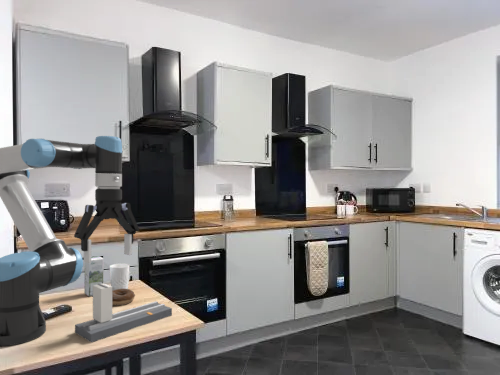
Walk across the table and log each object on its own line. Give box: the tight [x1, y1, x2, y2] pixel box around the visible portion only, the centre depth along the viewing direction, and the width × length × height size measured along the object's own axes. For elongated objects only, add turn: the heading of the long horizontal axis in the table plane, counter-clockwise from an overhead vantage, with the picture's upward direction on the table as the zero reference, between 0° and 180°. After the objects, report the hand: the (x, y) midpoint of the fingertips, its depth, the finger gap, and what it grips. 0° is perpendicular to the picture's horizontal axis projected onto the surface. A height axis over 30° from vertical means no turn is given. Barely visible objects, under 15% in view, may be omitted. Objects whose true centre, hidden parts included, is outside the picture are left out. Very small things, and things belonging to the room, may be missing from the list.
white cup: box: [109, 262, 131, 291], centre depth 154 cm, size 8×8×10 cm
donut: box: [112, 288, 136, 306], centre depth 139 cm, size 11×11×4 cm
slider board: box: [74, 300, 173, 343], centre depth 117 cm, size 10×28×3 cm, turn 140°
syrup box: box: [83, 256, 105, 297], centre depth 147 cm, size 6×6×14 cm
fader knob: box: [92, 282, 113, 324], centre depth 111 cm, size 5×4×11 cm
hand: (108, 258), depth 112 cm, fingers open, 13 cm apart
